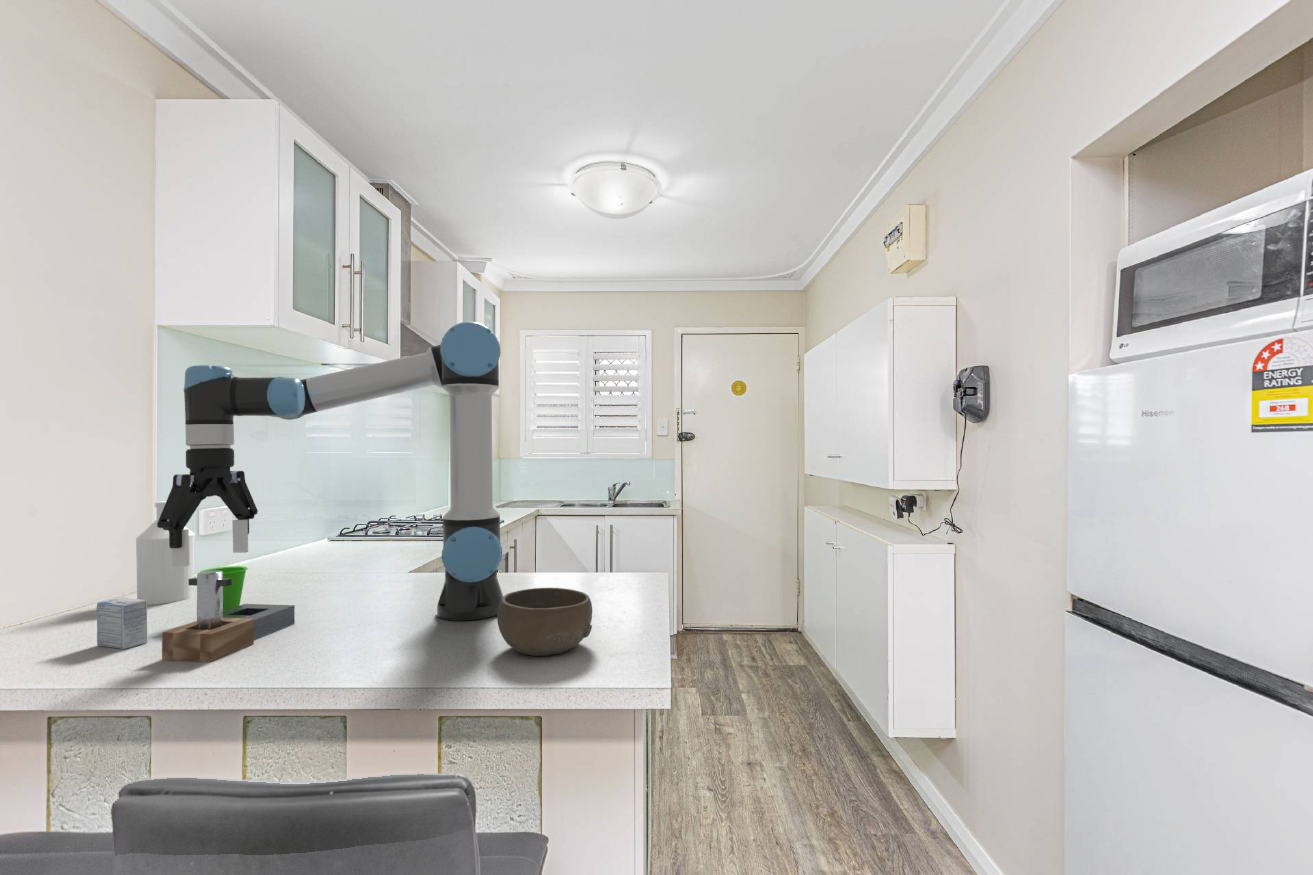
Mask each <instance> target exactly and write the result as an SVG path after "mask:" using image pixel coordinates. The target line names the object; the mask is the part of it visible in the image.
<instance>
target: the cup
mask: <svg viewBox="0 0 1313 875" xmlns="http://www.w3.org/2000/svg"><path fill="white" fill-rule="evenodd" d="M248 569H249V568H248V567H247V566H244V565H243V566H242V565H234V566H233V565H232V566H221V567H214V568H213V567H212V568H208V569H203V570H201V571H200V572H205V571H214V570H221V571H223V578H227V579H232V585H230V586H223V611H224V610H228V609H231V608H234V607H237V606H240V605H241V599H242V593H243V588H244V583H245V577H246V573H247V572H246V571H247V570H248Z"/></svg>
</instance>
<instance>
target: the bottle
mask: <svg viewBox="0 0 1313 875" xmlns="http://www.w3.org/2000/svg"><path fill="white" fill-rule="evenodd" d="M166 501H167V500H161V501H160V500H159V501H154V507H155V508H156V520H154V521H153V523H151V524H150V525H149V526H148V527H147V528H146V529H145V530H144V531H143V532H141V533H140V534H139V535H137V537H136V538H135V543H136V545H135V546H136V548H135V549H136V556H135V557H136V596H137V598H136V599H142V600H146V601H147V606H148V605H151V606H152V605H161V604H170V603H175V602H176V603H177V602H182V601H185V600H189V599H191V598H193V597H194V589H195V588H194V585H189V579H191V578H195V577H194V576H195V546H196V545H195V544H196V542H195V541H196V540H195V539H196V534H195V532H193V531H192V530H190V529H189V528H188V527H187V526H185V527H184V529H189V566H172V548H170V546H169V531H168V530H164V529H163V528H159V527H158V526H157V523H158V521H159V518H160V516H161V513H162V511H163V508H164V506H165V504H166ZM167 521H168V520H167Z"/></svg>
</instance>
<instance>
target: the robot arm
mask: <svg viewBox="0 0 1313 875" xmlns="http://www.w3.org/2000/svg"><path fill="white" fill-rule="evenodd" d="M500 344H501V343H500V341H499V340H498V338H497V336H496V335H495V333H494V332H493V331H492V330H491V329H490V328H489V327H487V326H485V325H484V324H482V323H480V322H476V321H464V322H458V323H457V324H455V325H453V326H452V327H450V328H449V329H448V330H447V331H446V332H445V333H444V335H443V337H442V338H441V342H440V344H438V345H435V346H434V345H433V346H430V347H428V348H427V350H426V352H422V353H419V354H413V355H409V356H404V357H400V358H399V357H398V358H394V359H391V360H386V361H382V362H381V361H380V362H376V363H373V364H367V365H363V366H359V367H355V368H354V367H353V368H350V369H345V370H340V371H335V372H330V373H327V374H322V375H317V376H312V377H307V378H305V379H298V378H296V377H285V376H277V377H275V376H274V377H272V376H271V377H269V376H267V377H241V376H235V375H234V373H233V370H232V368H230V367H227V366H221V365H209V364H208V365H204V364H203V365H201V364H200V365H191V366H189V367H187V368H186V369H185V373H184V388H183V393H184V395H183V396H184V397H183V398H184V418H185V419H184V420H185V421H184V422H185V424H184V425H185V427H184V429H185V446H186V447H189V449H188V448H187V449H186V450H185V467H186V468H187V469H189V474H187V473H185V474H184V473H183V474H181V473H179V474H174V475H173V478H172V485H171V490H170V492H169V494H168V497H167V499H166V500H165V501H166V504H165V506H164V508H163V511H162V513H161V516H160V518H159V521H158V523H157V526H158V527H159V528H163V529H164V530H168V531H169V546H170V548H172V566H189V530H190V529H189V528H188V529H184V527H187V524H188V522H189V521H190V520H191V518H192V517H193V515H194V513H195V512H196V511H197V509H198V507H199V506H200V504H201V502H202V501H203V500H205V499H207V498H210V497H213V496H217V497H218V498H220V499H221V501H222V502H223V503H224V505H226V507H227V508H228V510H229V511H230V512H231V513H232V515H233V516H234V517H235V519H232V553H235V554H236V553H237V554H238V553H244V554H245V553H249V534H250V520H254V518H255V516H256V515H257V514H258V512H259V510H258V508H257V506H256V504H255V501H254V498H253V497H252V494H251V492H250V489H249V487H248V485H247V482H246V476H245V475H246V474H245V472H244V470H231V468H232V467H234V465H235V449H233V448H231V446H233V445H235V432H234V431H235V429H234V427H235V424H234V422H235V421H234V418H235V417H236V416H237V417H244V416H245V417H247V416H248V417H250V416H253V417H254V416H255V417H257V416H258V417H261V416H262V417H273V418H280V419H282V420H287V421H291V420H297V419H300V418H303V417H304V416H306V415H307V416H308V415H310V414H314V413H319V412H323V411H326V410H327V411H328V410H332V409H334V408H339V407H344V406H348V405H353V404H357V403H361V402H366V401H370V400H374V399H378V398H379V399H380V398H385V397H388V396H391V395H397V394H401V393H404V392H409V391H413V390H419V389H423V388H427V387H431V386H437V387H438V388H441V389H443V390H444V391H446V393H447V394H448V395H449V457H450V459H449V467H450V470H449V472H450V473H449V474H450V479H449V480H450V484H449V485H450V493H449V494H450V508H449V510H448V511H447V512H446V513H445V514H444V515H443V517H442V538H443V539H442V540H443V541H442V545H443V546H442V551H441V561H442V562H441V563H442V564H443V566H444V574H445V575H444V576H445V577H444V583H443V587H442V589H441V593H440V596H439V599H438V602H437V606H436V615H437V617H438V618H440V619H443V620H449V621H475V619H477V620H482V619H483V620H484V619H487V618H492V617H495V615H496V616H497V612H498V608H499V605H500V602H501V600H502V598H503V596H504V595H503V592H502V589H501V586H500V583H499V582H500V581H499V580H498V567H499V565H500V563H501V562H502V556H503V547H502V545H501V544H502V543H501V514H500V513H499V512H498V510H496V509H495V508H494V505H493V499H494V498H493V427H492V426H493V418H492V417H493V414H492V413H493V405H492V402H493V399H492V396H493V395H494V394H495V392H497V391H498V390H499V388H500V387H499V386H500V378H499V377H500V374H499V373H500V372H499V371H500V368H499V367H500V366H499V364H500V362H499V361H500V357H501V352H502V351H501V345H500ZM167 520H168V521H167Z"/></svg>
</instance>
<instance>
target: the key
mask: <svg viewBox="0 0 1313 875" xmlns="http://www.w3.org/2000/svg"><path fill="white" fill-rule="evenodd" d="M189 585H194V586H195V587H196V621H197V629H198V630H212V629H215V628H218V627H220V626H223V586H230V585H232V579H227V578H223V571H221V570H214V571H205V572H201V571H199V572H197V573H196V577H194V578H191V579H189Z"/></svg>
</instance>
